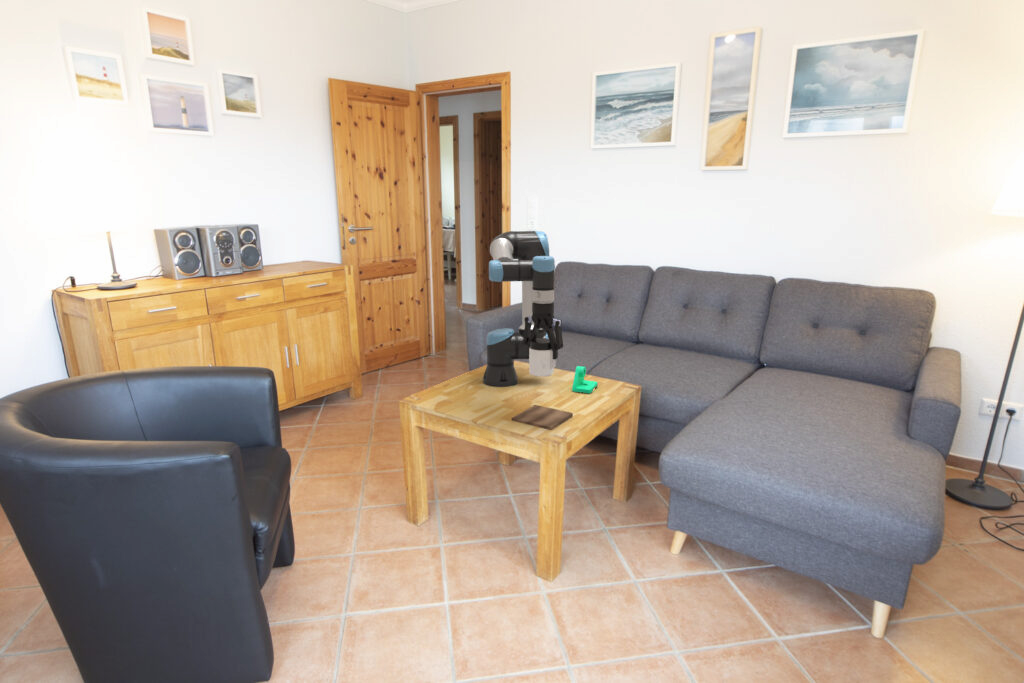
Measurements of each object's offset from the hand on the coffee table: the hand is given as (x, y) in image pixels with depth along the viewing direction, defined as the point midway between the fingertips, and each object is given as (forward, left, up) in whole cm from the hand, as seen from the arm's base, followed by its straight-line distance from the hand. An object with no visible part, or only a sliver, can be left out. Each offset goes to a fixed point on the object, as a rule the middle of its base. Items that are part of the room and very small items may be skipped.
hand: (542, 366), depth 196 cm
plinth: (+1, 0, -21) cm, 21 cm away
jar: (0, 0, -3) cm, 3 cm away
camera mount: (-2, +40, -21) cm, 46 cm away
